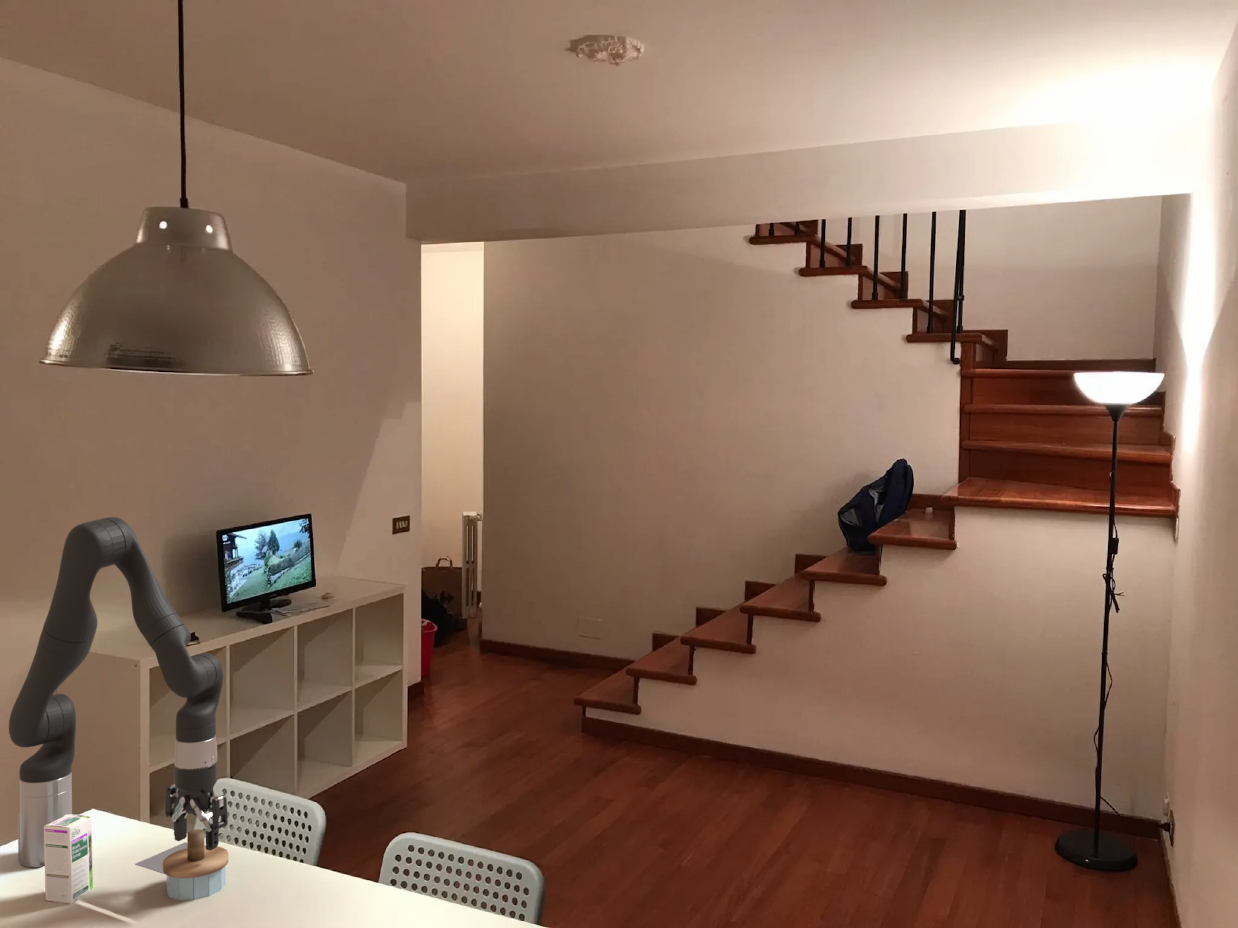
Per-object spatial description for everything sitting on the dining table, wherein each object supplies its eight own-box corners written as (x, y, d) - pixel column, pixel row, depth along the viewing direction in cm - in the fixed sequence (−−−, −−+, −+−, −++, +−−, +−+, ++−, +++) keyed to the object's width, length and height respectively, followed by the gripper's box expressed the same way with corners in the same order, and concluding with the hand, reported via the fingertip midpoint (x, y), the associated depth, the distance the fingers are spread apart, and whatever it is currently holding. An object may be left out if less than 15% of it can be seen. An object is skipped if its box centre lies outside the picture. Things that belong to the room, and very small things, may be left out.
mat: (134, 866, 201) (134, 863, 201) (184, 844, 212) (184, 841, 212) (175, 879, 196) (175, 876, 196) (225, 856, 207) (225, 853, 207)
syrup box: (71, 904, 186) (70, 827, 185) (43, 900, 187) (43, 824, 186) (93, 890, 191) (92, 815, 191) (66, 887, 192) (65, 812, 192)
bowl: (155, 894, 190) (155, 868, 190) (199, 873, 199) (199, 849, 199) (192, 907, 185) (192, 880, 185) (236, 885, 194) (236, 859, 194)
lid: (149, 874, 189) (148, 837, 189) (200, 851, 200) (199, 816, 199) (191, 888, 184) (191, 849, 184) (241, 864, 194) (241, 827, 194)
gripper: (153, 759, 191) (153, 843, 191) (205, 772, 184) (206, 859, 185) (186, 748, 197) (186, 829, 198) (238, 760, 191) (238, 844, 192)
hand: (196, 843), depth 192 cm, fingers open, 8 cm apart
